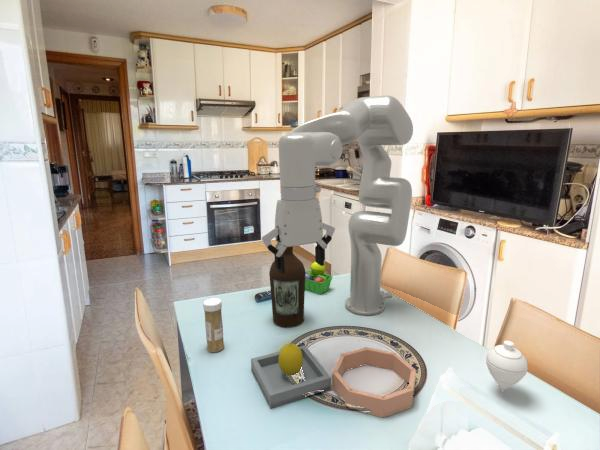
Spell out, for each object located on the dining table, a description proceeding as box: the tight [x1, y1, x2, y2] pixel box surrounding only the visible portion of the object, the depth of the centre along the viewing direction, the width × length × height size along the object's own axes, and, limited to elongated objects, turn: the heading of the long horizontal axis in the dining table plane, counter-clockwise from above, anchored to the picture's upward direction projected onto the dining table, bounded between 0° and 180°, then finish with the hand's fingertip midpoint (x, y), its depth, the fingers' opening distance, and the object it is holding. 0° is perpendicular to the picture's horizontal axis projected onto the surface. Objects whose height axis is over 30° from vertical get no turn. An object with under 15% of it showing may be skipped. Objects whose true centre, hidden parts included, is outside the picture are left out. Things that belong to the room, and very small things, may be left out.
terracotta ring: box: [331, 346, 417, 418], centre depth 80 cm, size 17×17×4 cm
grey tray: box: [250, 344, 332, 409], centre depth 83 cm, size 14×14×3 cm
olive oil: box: [268, 246, 306, 329], centre depth 108 cm, size 11×11×25 cm
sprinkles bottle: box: [203, 297, 225, 353], centre depth 95 cm, size 5×5×13 cm
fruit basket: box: [305, 260, 333, 295], centre depth 132 cm, size 11×9×11 cm
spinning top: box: [485, 340, 529, 394], centre depth 77 cm, size 8×8×12 cm
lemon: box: [278, 342, 303, 375], centre depth 82 cm, size 6×6×8 cm
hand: (300, 267), depth 83 cm, fingers open, 9 cm apart
